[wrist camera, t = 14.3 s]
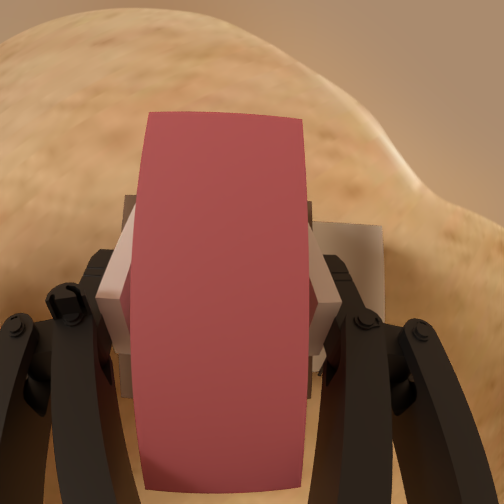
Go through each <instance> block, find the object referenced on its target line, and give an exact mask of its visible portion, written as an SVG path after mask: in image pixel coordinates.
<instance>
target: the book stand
mask: <svg viewBox="0 0 504 504" xmlns="http://www.w3.org/2000/svg"><path fill="white" fill-rule="evenodd" d="M136 197H137V195H125V201H124V210H123V220H122V231H123V229H124V227H125V224H126V222H127V220H128V218H129V216H130V214H131V212H132V210H133V207H134V205H135V203H136ZM307 210H308V223H309V225H310V227H311V230H312V232H313V234H314V236H315V239H316V241H317V243H318V245H319V248H320V250H321V252H322V254H325V255H337V256H338V257H339V258H340V259H341V260H342V261H343V262H344V263H345V265H346V267H347V269H348V271H349V274H350V275H351V277H352V279H353V282H354V283H355V286H356V288H357V290H358V292H359V294H360V296H361V298H362V301H363V303H364V305H365V307H366V308H368V309H371V310H372V311H374V312H375V313H377V314H378V315H379V317H380V318H381V319H382V322H383V323H385V271H384V248H383V232H382V226H377V225H363V224H349V223H333V222H316V221H312V202H311V201H307ZM122 231H121V233H122ZM325 358H326V353H325V349H324V346H323V348H322V350H321V352H320V355H316V356H308V385H307V399H310V398H311V387H312V372H319V370H320V368H321V366H322V364H323V362H324V360H325ZM119 372H120V387H121V397H124V398H133V387H132V371H131V354H120V353H119Z"/></svg>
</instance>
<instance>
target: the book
mask: <svg viewBox="0 0 504 504" xmlns="http://www.w3.org/2000/svg"><path fill="white" fill-rule="evenodd" d="M130 346H131V371H132V387H133V400H134V411H135V421H136V430H137V438H138V446H139V453H140V460H141V467H142V473H143V479H144V484H145V489H146V490H156V491H166V492H181V493H248V492H262V491H273V490H282V489H291V488H298V487H301V478H302V466H303V454H304V440H305V425H306V407H307V385H308V355H309V241H308V210H307V187H306V168H305V152H304V138H303V124H302V119H295V118H287V117H277V116H267V115H255V114H241V113H222V112H149V116H148V121H147V127H146V132H145V138H144V144H143V151H142V157H141V164H140V172H139V180H138V188H137V197H136V206H135V217H134V228H133V242H132V259H131V284H130Z"/></svg>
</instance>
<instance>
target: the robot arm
mask: <svg viewBox="0 0 504 504" xmlns="http://www.w3.org/2000/svg"><path fill="white" fill-rule="evenodd" d="M135 206H136V203H135V205H134V207H133V210H132V212H131V214H130V216H129V218H128V220H127V222H126V224H125V227H124V229H123V231H122V233H121V235H120V238H119V240H118V242H117V244H116V247H115V249H114V250H105V249H100V250H99V251H98V252H97V253H96V254H94V255H93V256H92V257H91V259H90V261H89V263H88V265H87V269H86V270H85V272H84V274H83V276H82V278H81V281H80V283H79V284H76V283H64V284H61V285H58V286H56V287H55V288H53V289H52V290H51V291H50V292H49V293H48V295H47V297H46V300H45V302H46V304H47V306H48V309H49V311H50V313H51V315H52V317H53V319H50V320H45V321H40V322H35V323H34V322H33V320H32V318H31V317H30V316H29V315H28V314H24V313H17V314H15V315H12V316H10V317H9V318H8V319H7V320H6V321H5V322H4V324H3V325H2V327H1V330H0V504H43V493H44V479H45V468H46V459H47V451H48V443H49V436H50V430H51V424H52V431H53V443H54V452H55V461H56V469H57V475H58V482H59V488H60V493H61V498H62V503H63V504H141V502H140V499H139V495H138V492H137V488H136V485H135V481H134V477H133V474H132V470H131V466H130V462H129V457H128V453H127V449H126V444H125V439H124V434H123V429H122V424H121V419H120V413H119V407H118V401H117V394H116V387H115V380H114V372H113V364H112V360H111V357H110V355H109V354H110V350H111V346H112V345H113V348H114V350H115V353H120V354H131V346H130V284H131V259H132V242H133V228H134V217H135ZM308 241H309V355H308V356H316V355H320V352H321V350H322V348H323V346H324V349H325V353H326V358H325V360H324V362H323V364H322V366H321V368H320V370H319V373H318V376H321V374H322V373H323V377H322V390H321V402H320V412H319V423H318V432H317V441H316V449H315V457H314V465H313V472H312V479H311V486H310V492H309V499H308V504H391V494H392V460H393V446H392V439H393V443H394V447H395V451H396V455H397V459H398V463H399V467H400V471H401V476H402V480H403V485H404V490H405V494H406V499H407V504H499V503H498V499H497V494H496V490H495V486H494V482H493V478H492V475H491V471H490V468H489V464H488V461H487V457H486V454H485V451H484V448H483V445H482V442H481V439H480V436H479V433H478V430H477V427H476V424H475V422H474V419H473V416H472V413H471V411H470V408H469V406H468V403H467V401H466V398H465V396H464V393H463V391H462V388H461V386H460V383H459V381H458V379H457V376H456V374H455V372H454V370H453V367H452V365H451V363H450V361H449V359H448V356H447V354H446V352H445V350H444V348H443V346H442V344H441V342H440V340H439V338H438V336H437V334H436V332H435V330H434V329H433V327H432V326H431V325H430V324H428V323H427V322H426V321H423V320H421V319H415V318H414V319H410V320H408V321H407V322H406V323H405V325H404V327H399V326H394V325H389V324H385V323H383V322H382V319H381V318H380V317H379V315H378V314H377V313H375V312H374V311H372V310H371V309H368V308H366V307H365V305H364V303H363V301H362V298H361V296H360V294H359V292H358V290H357V288H356V286H355V283H354V282H353V279H352V277H351V275H350V274H349V271H348V269H347V267H346V265H345V263H344V262H343V261H342V260H341V259H340V258H339V257H338V256H337V255H325V254H322V252H321V250H320V248H319V245H318V243H317V241H316V239H315V236H314V234H313V232H312V230H311V227H310V225H309V223H308Z"/></svg>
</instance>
